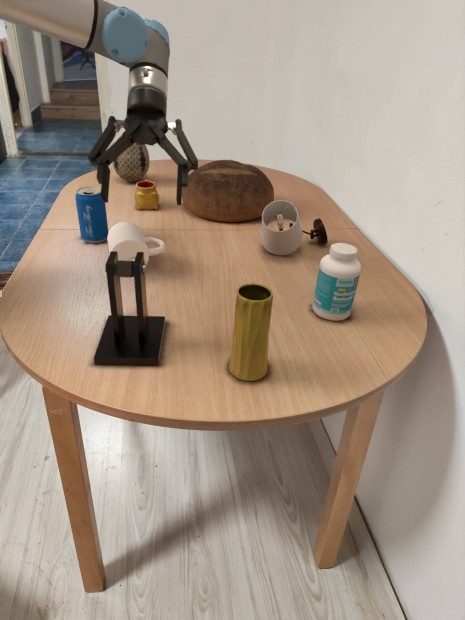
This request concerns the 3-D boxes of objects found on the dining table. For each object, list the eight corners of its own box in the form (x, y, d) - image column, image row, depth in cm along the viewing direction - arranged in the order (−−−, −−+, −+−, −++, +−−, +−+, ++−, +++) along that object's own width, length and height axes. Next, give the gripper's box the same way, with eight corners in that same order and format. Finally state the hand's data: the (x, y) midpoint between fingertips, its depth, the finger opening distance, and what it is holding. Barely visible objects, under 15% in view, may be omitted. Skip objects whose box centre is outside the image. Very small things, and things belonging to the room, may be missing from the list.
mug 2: (158, 211, 128) (157, 187, 124) (133, 210, 127) (132, 187, 123) (160, 196, 138) (160, 174, 134) (137, 196, 137) (136, 174, 133)
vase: (256, 386, 69) (264, 307, 61) (221, 372, 71) (225, 294, 63) (273, 364, 73) (283, 288, 66) (240, 352, 76) (245, 277, 68)
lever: (127, 276, 81) (127, 255, 80) (148, 276, 81) (148, 256, 80) (112, 280, 68) (112, 256, 67) (136, 281, 68) (136, 257, 67)
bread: (183, 191, 143) (183, 148, 136) (267, 194, 144) (271, 152, 137) (178, 222, 121) (177, 173, 114) (277, 226, 123) (283, 177, 115)
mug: (111, 276, 95) (108, 241, 91) (109, 255, 103) (105, 222, 99) (168, 271, 98) (167, 237, 94) (161, 251, 106) (160, 219, 102)
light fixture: (258, 240, 118) (251, 204, 102) (315, 220, 117) (317, 181, 101) (270, 273, 114) (265, 242, 98) (329, 253, 114) (334, 218, 98)
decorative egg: (106, 180, 148) (101, 132, 140) (134, 173, 156) (131, 127, 148) (129, 189, 142) (126, 139, 134) (157, 181, 150) (155, 134, 142)
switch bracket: (109, 321, 81) (99, 240, 73) (165, 322, 82) (162, 242, 73) (94, 364, 71) (81, 276, 63) (158, 365, 72) (154, 278, 63)
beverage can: (77, 243, 107) (70, 194, 101) (86, 232, 113) (79, 185, 106) (104, 245, 107) (99, 195, 101) (112, 234, 113) (107, 186, 106)
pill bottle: (331, 327, 83) (345, 261, 76) (303, 308, 88) (314, 244, 81) (358, 315, 87) (374, 251, 80) (330, 297, 92) (342, 236, 85)
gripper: (76, 82, 83) (66, 188, 79) (212, 89, 85) (209, 193, 80) (87, 108, 91) (78, 207, 86) (211, 114, 92) (209, 211, 88)
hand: (141, 200), depth 83 cm, fingers open, 13 cm apart
